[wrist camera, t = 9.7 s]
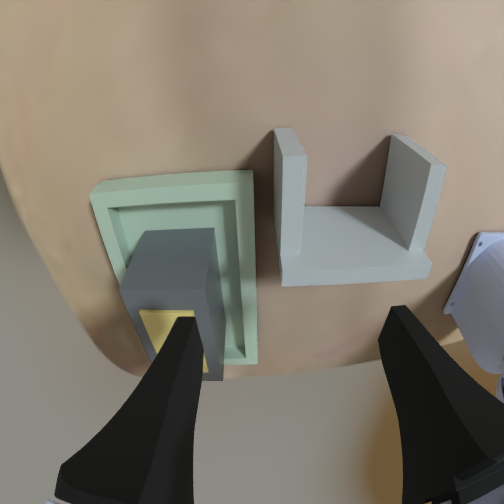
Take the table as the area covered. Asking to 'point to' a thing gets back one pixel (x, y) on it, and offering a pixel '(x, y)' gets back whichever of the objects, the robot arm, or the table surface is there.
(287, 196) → the bay
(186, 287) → the grey block yellow label
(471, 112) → the table surface
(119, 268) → the tray
